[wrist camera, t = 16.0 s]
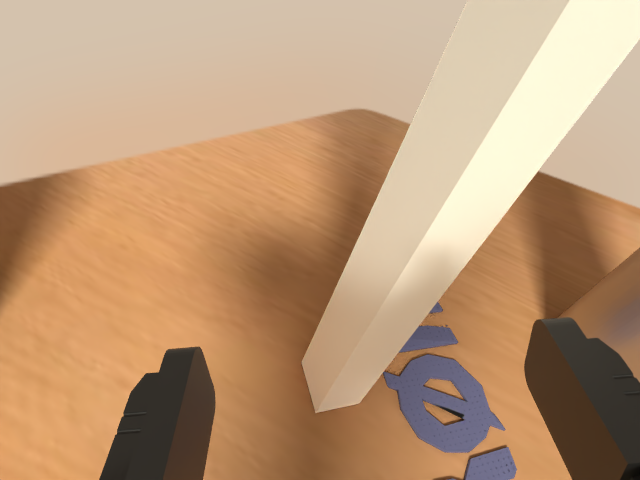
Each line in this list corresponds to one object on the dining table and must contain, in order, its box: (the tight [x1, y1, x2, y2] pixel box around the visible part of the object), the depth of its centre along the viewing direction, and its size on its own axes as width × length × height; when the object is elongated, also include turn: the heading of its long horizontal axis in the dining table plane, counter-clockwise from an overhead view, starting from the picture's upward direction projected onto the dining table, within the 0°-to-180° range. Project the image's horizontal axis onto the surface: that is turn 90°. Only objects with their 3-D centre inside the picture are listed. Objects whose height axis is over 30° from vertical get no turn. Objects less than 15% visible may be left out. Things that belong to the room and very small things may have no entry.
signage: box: [383, 302, 517, 480], centre depth 35 cm, size 28×1×10 cm
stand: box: [301, 0, 640, 413], centre depth 22 cm, size 10×4×35 cm, turn 106°
